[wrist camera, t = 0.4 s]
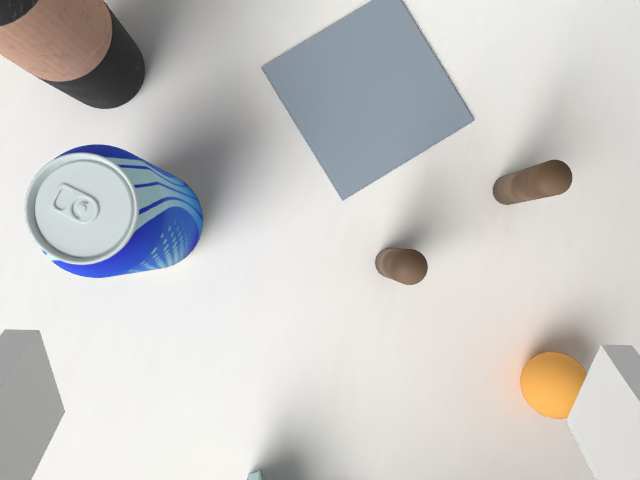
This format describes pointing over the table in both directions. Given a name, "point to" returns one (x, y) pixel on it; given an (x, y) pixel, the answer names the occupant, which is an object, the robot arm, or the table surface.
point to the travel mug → (73, 48)
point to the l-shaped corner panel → (254, 476)
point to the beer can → (111, 213)
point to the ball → (552, 383)
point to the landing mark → (367, 94)
